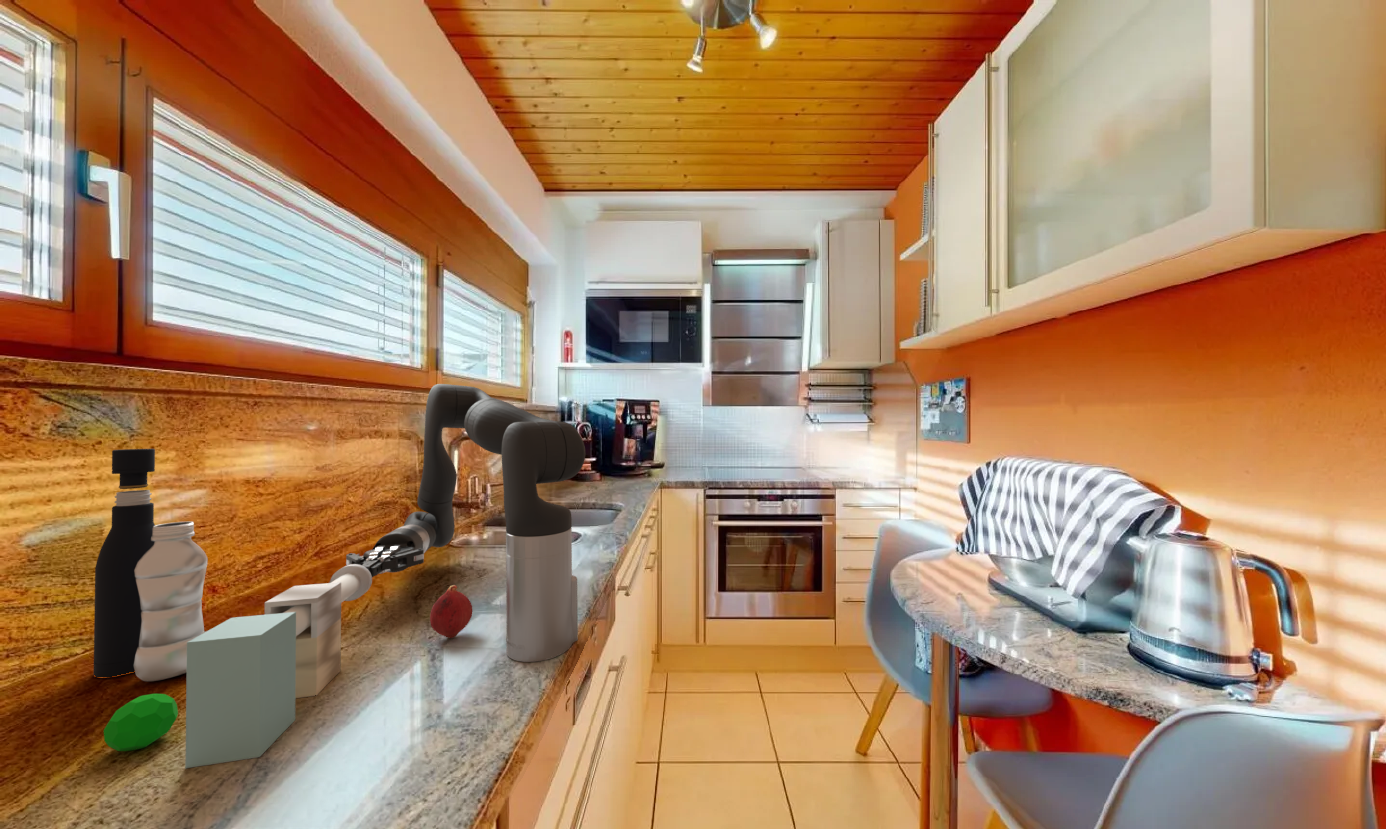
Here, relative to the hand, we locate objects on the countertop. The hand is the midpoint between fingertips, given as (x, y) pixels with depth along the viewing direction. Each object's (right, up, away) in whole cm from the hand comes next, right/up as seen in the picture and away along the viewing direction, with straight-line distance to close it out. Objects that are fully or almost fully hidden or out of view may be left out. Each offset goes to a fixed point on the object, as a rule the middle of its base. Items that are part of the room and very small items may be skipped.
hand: (364, 573), depth 76 cm
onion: (+16, -9, -3) cm, 19 cm away
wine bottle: (-24, -9, -11) cm, 28 cm away
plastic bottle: (-16, -9, -13) cm, 23 cm away
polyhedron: (-4, -9, -27) cm, 29 cm away
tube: (+3, -2, -12) cm, 13 cm away
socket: (+7, -8, -27) cm, 29 cm away
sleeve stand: (+4, -9, -16) cm, 19 cm away
